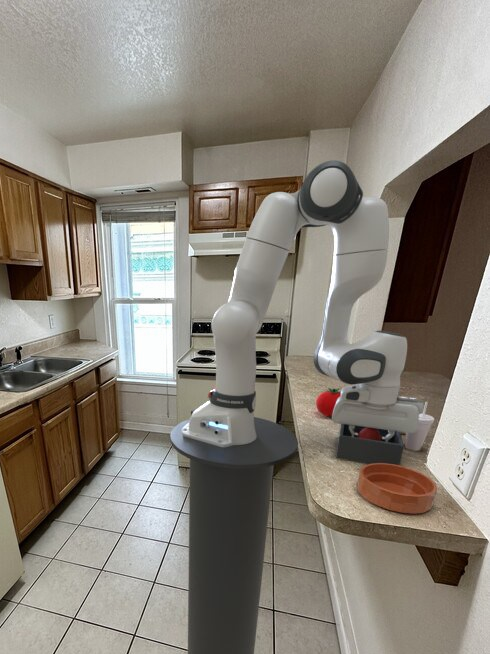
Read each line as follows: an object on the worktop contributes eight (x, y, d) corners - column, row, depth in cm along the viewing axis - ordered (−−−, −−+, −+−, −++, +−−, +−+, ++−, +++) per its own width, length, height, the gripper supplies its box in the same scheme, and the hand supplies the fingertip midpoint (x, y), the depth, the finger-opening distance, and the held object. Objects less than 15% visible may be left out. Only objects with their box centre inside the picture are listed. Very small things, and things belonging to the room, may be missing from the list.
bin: (335, 458, 96) (339, 435, 94) (338, 438, 108) (341, 418, 106) (398, 469, 90) (404, 445, 88) (393, 447, 102) (398, 426, 100)
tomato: (349, 421, 121) (354, 393, 118) (317, 420, 123) (321, 392, 120) (341, 411, 131) (346, 385, 127) (311, 410, 133) (315, 384, 129)
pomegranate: (370, 446, 101) (376, 420, 99) (383, 455, 96) (389, 427, 93) (351, 446, 101) (355, 420, 98) (362, 455, 96) (367, 428, 93)
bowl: (356, 504, 76) (360, 486, 74) (357, 474, 88) (360, 458, 86) (437, 522, 70) (443, 503, 68) (426, 488, 81) (430, 470, 80)
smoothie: (425, 454, 97) (438, 406, 92) (398, 449, 101) (409, 402, 96) (426, 446, 102) (439, 400, 97) (400, 441, 106) (411, 396, 101)
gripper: (423, 395, 91) (411, 444, 96) (336, 386, 100) (329, 431, 105) (427, 402, 86) (414, 453, 91) (335, 392, 95) (328, 439, 99)
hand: (368, 441), depth 98 cm, fingers closed on pomegranate, 6 cm apart
